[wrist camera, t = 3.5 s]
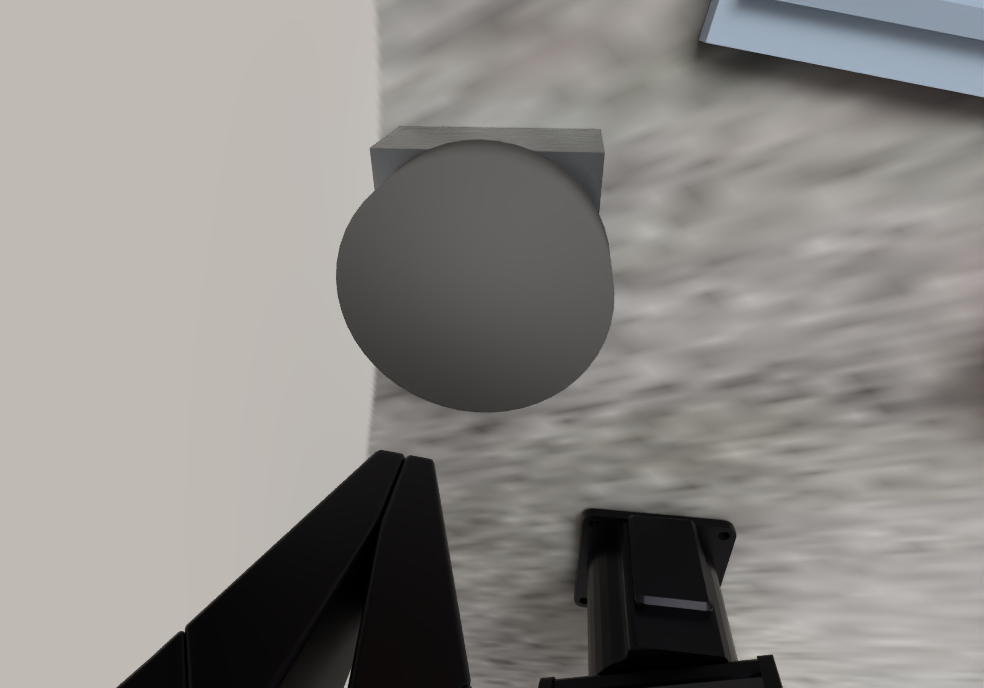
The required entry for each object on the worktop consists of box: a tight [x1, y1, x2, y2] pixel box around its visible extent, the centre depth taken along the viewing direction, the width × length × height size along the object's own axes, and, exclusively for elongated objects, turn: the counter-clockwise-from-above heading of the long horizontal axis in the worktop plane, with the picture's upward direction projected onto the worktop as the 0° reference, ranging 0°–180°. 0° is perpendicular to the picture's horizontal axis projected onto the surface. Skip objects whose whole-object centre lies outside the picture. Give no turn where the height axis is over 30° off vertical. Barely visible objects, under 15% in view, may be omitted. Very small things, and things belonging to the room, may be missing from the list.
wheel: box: [336, 139, 614, 412], centre depth 16 cm, size 7×7×5 cm
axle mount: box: [370, 126, 605, 213], centre depth 18 cm, size 6×6×3 cm
